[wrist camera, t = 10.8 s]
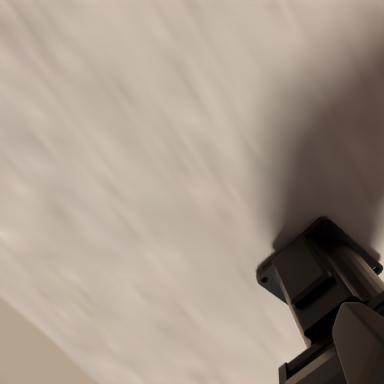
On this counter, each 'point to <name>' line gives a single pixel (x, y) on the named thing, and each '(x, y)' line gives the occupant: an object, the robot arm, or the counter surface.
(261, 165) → the counter surface
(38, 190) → the counter surface
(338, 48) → the counter surface
